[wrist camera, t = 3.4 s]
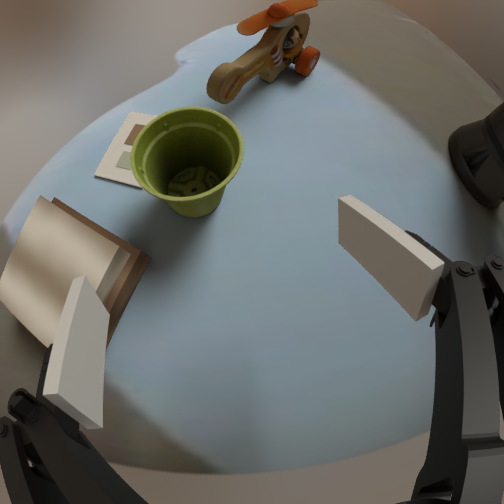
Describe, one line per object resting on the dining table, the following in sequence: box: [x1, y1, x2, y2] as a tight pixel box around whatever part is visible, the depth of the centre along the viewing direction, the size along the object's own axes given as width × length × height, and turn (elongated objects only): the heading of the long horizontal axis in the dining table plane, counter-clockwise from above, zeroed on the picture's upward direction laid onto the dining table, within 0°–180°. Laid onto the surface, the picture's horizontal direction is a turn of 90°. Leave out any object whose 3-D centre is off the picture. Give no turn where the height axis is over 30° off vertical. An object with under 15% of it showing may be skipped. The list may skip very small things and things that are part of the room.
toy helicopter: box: [207, 0, 320, 104], centre depth 27 cm, size 8×21×14 cm, turn 145°
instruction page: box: [95, 112, 157, 188], centre depth 30 cm, size 10×7×1 cm
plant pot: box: [130, 107, 244, 218], centre depth 25 cm, size 9×9×9 cm
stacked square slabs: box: [0, 195, 151, 348], centre depth 23 cm, size 13×13×6 cm
